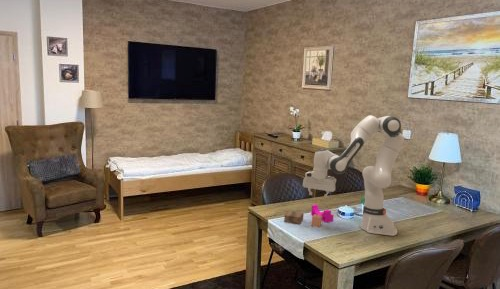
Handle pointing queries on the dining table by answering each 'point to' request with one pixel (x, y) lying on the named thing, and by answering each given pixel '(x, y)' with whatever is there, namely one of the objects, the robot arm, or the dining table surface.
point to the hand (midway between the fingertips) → (318, 196)
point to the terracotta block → (316, 220)
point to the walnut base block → (293, 217)
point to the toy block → (322, 214)
